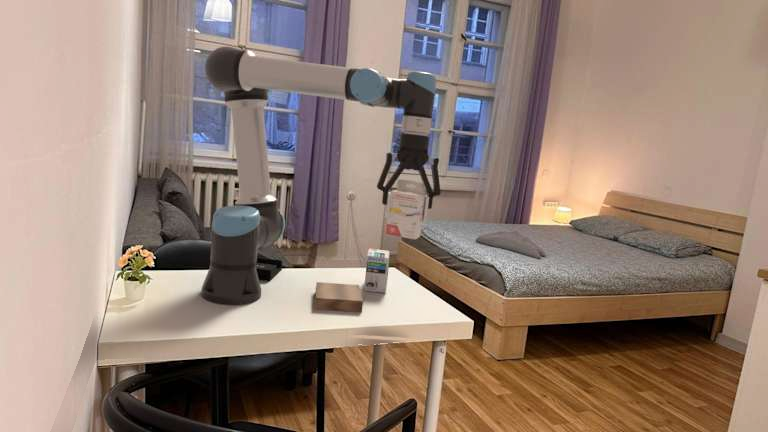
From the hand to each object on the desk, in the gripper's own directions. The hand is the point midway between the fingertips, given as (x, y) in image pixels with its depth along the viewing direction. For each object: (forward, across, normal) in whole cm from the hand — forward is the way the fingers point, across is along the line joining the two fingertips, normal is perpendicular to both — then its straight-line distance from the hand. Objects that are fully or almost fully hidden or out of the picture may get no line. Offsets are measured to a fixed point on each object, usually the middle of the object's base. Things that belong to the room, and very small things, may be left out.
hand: (405, 218), depth 139 cm
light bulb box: (+25, -4, +17) cm, 30 cm away
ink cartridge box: (+5, 0, 0) cm, 5 cm away
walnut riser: (+24, -16, +1) cm, 29 cm away
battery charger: (+25, -38, +22) cm, 51 cm away
